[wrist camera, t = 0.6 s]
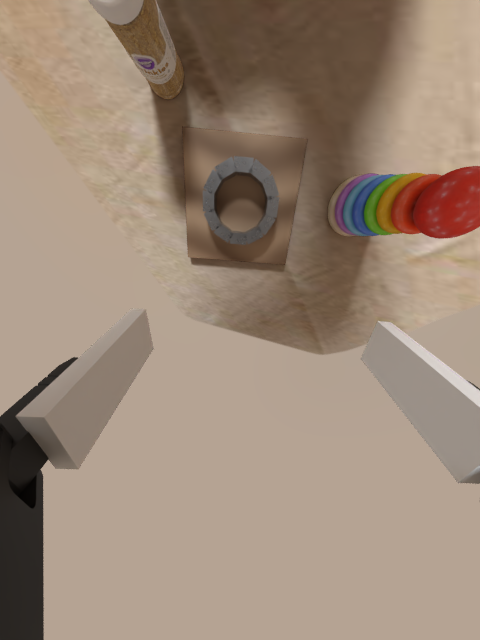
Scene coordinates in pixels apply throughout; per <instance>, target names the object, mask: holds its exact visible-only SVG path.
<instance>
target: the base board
mask: <svg viewBox="0 0 480 640" xmlns="http://www.w3.org/2000/svg"><path fill="white" fill-rule="evenodd" d="M182 134H183V156H184V179H185V201H186V223H187V246H188V257H193V258H206V259H218V260H231V261H244V262H257V263H270V264H282V265H285V263H286V257H287V251H288V246H289V240H290V235H291V229H292V224H293V218H294V212H295V207H296V201H297V196H298V190H299V185H300V179H301V173H302V168H303V162H304V157H305V151H306V145H307V140H308V139H303V138H292V137H282V136H272V135H262V134H252V133H242V132H232V131H222V130H211V129H201V128H191V127H182ZM234 156H240V157H250V158H254V161H255V159H257V160H258V161H259V162H260V163H261V164H262V165H263V166H265V167H266V168H267V169H268V170H269V171H270V172H271V174H270V175H269V176H271V175H273V177H274V180H275V183H276V186H277V189H278V192H279V195H278V196H276V197H280V198H279V204H278V211H277V218H274V217H273V218H274V219H275V222H274V223H273V225H272V226H271V228H270V229H269V230H268V232H267V233H266V235H264V234H263V237H262V238H260V239H258V240H256V241H254V242H252V243H250V244H248V243H247V242H246V245H241V244H230V240H229V242H228V243H227V242H226V241H225V240H223V239H222V238H220V237H219V236H218V235H216V234H215V233H214V231H215V230H213V231H212V230H211V228H210V226H209V224H208V222H207V220H206V218H205V216H204V213H206V212H204V211H203V190H204V191H207V190H205V189H204V186H205V184H206V182H207V180H208V178H209V176H210V174H211V172H212V170H213V169H214V170H215V166H217V165H219V164H220V163H222V162H224V161H225V160H227V159H228V158H230V157H232V158H233V161H234ZM254 161H253V163H254ZM215 171H216V170H215ZM264 208H265V197H264V194H263V192H262V189H261V186H260V185H259V184H258V183H257V182H255V181H254V180H253V179H252V178H251V177H249V176H238V175H236V176H234V177H232V178H230V179H229V180H227V181H225V182H224V183H223V185H222V187H221V189H220V190H219V192H218V194H217V212H218V215H219V217H220V219H221V221H222V223H223V224H224V225H226V226H227V227H228V228H230V229H231V230H233V231H242V232H245V231H247V230H249V229H251V228H253V227H255V226H256V225H257V224H258V222H259V221H260V219H261V218H262V216H263V215H264Z"/></svg>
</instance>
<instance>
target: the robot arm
mask: <svg viewBox="0 0 480 640" xmlns="http://www.w3.org/2000/svg"><path fill="white" fill-rule="evenodd" d="M152 350H153V344H152V339H151V334H150V328H149V323H148V318H147V313H146V309H133V308H132V309H131V310H130V311H129V312H128V313H127V314H125V315H124V316H123V317H122V318H121V319H120V320H119V321H118V322H117V323H116V324H115V325H114V326H113V327H111V328H110V329H109V330H108V331H107V332H106V333H105V334H104V335H103V336H102V337H101V338H99V339H98V340H97V341H96V342H95V343H94V344H93V345H92V346H91V347H90V348H89V349H88V350H87V351H85V352H84V353H83V354H82V355H81V356H80V357H79V358H75V357H74V358H72V359H70V360H68V361H66V362H64V363H63V364H61V365H59V366H58V367H57V368H56V369H55V370H53V371H52V372H51V373H50V374H49V375H48V377H45V378H44V379H43V380H42V381H41V382H39V383H38V386H35V387H34V388H33V389H31V390H30V391H29V392H28V393H27V394H26V395H24V396H23V397H22V398H21V399H20V400H19V401H18V402H16V403H15V404H14V405H13V406H12V407H11V408H9V409H8V410H7V411H6V412H5V413H4V414H3V415H1V417H0V640H43V475H42V472H41V470H40V469H41V468H42V467H43V465H44V464H45V463H46V461H47V460H48V459H49V461H50V462H51V463H52V465H53V466H54V467H55V468H57V469H79V468H80V466H81V464H82V463H83V461H84V459H85V458H86V456H87V454H88V453H89V452H90V450H91V448H92V447H93V445H94V444H95V442H96V440H97V439H98V437H99V435H100V434H101V432H102V431H103V429H104V427H105V426H106V424H107V423H108V421H109V419H110V418H111V416H112V415H113V413H114V411H115V410H116V408H117V406H118V405H119V403H120V402H121V400H122V398H123V397H124V395H125V394H126V392H127V390H128V389H129V387H130V386H131V384H132V382H133V381H134V379H135V377H136V376H137V374H138V373H139V371H140V370H141V368H142V366H143V365H144V363H145V362H146V360H147V358H148V357H149V355H150V354H151V352H152ZM361 360H362V361H363V362H364V364H365V365H366V366H367V367H368V368H369V370H370V371H371V373H372V374H373V375H374V376H375V378H376V379H377V380H378V382H379V383H380V384H381V385H382V387H383V388H384V389H385V390H386V392H387V393H388V394H389V396H390V397H391V398H392V399H393V401H394V402H395V403H396V404H397V406H398V407H399V408H400V410H401V411H402V412H403V413H404V415H405V416H406V417H407V419H408V420H409V421H410V422H411V424H412V425H413V426H414V427H415V429H416V430H417V431H418V433H419V434H420V435H421V436H422V438H423V439H424V440H425V441H426V443H427V444H428V445H429V447H431V449H432V450H433V452H434V453H435V454H436V455H437V457H438V458H439V459H440V461H441V462H442V463H443V464H444V466H445V467H446V468H447V469H448V471H449V472H450V473H451V475H452V476H453V477H454V478H455V480H456V481H457V482H458V483H477V484H479V483H480V389H479V388H478V387H476V386H475V385H474V384H472V383H471V382H469V381H467V380H465V379H464V378H463V377H461V376H460V375H459V374H457V373H456V372H455V371H453V370H452V369H451V368H450V367H448V366H447V365H446V364H444V363H443V362H442V361H441V360H439V359H438V358H437V357H435V356H434V355H433V354H431V353H430V352H429V351H427V350H426V349H425V348H424V347H422V346H421V345H420V344H419V343H417V342H416V341H415V340H413V339H412V338H411V337H409V336H408V335H407V334H406V333H404V332H403V331H402V330H400V329H399V328H398V327H396V326H395V325H394V324H393V323H391V322H383V321H377V323H376V325H375V328H374V330H373V332H372V334H371V337H370V339H369V341H368V343H367V346H366V348H365V350H364V352H363V355H362V357H361Z"/></svg>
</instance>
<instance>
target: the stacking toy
mask: <svg viewBox="0 0 480 640" xmlns="http://www.w3.org/2000/svg"><path fill="white" fill-rule="evenodd" d="M328 220H329V223H330V225H331V227H332V228H333V230H334V231H335V232H337V233H338V234H340V235H343V236H356V235H359V236H376V235H390V234H399V233H406V234H418V233H421V232H422V233H423V234H425V235H427V236H430V237H434V238H453V237H457V236H460V235H463V234H466V233H468V232H471V231H473V230H474V229H476V228H478V227H479V226H480V166H472V167H464V168H460V169H456V170H454V171H451V172H449V173H447V174H445V175H443V176H441V175H437V174H429V175H426V174H422V173H411V174H400V175H391V174H389V175H378V174H364V175H357V176H353V177H351V178H349V179H347V180H346V181H344V182H343V183H342V184H341V185H340V186H339V187H338V188H337V189H336V191H335V192H334V194H333V195H332V197H331V200H330V202H329V206H328Z"/></svg>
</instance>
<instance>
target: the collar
mask: <svg viewBox="0 0 480 640" xmlns="http://www.w3.org/2000/svg"><path fill="white" fill-rule="evenodd" d="M253 161H254V158H250V157H240V156H234V161H233V158H232V157H230V158H228V159H227V160H225V161H224V162H222V163H220V164H219V165H217V166H215V170H216V171H215V170H214V169H213V170H212V172H211V174H210V176H209V178H208V180H207V182H206V184H205V186H204V189H205V190H207V191H204V190H203V211H204V212H206V213H204V216H205V218H206V220H207V222H208V224H209V226H210V228H211V230H212V231H213V230H215V231H214V233H215V234H216V235H218V236H219V237H220V238H222V239H223V240H225V241H226V242H227V243H228V242H229V240H230V244H241V245H246V242H247V243H248V244H250V243H252V242H254V241H256V240H258V239H260V238H262V237H263V234H264V235H266V233H267V232H268V230H269V229H270V228H271V226H272V225H273V223H274V222H275V219H274V218H277V211H278V204H279V198H280V197H276V196H278V195H279V192H278V189H277V186H276V183H275V180H274V177H273V175H271V176H269V175H270V174H271V172H270V171H269V170H268V169H267V168H266V167H265V166H263V165H262V164H261V163H260V162H259V161H258V160H257V159H255V161H254V163H253ZM236 175H238V176H249V177H251V178H252V179H253V180H254V181H255V182H257V183H258V184H259V185H260V186H261V189H262V192H263V194H264V197H265V208H264V215H263V216H262V218H261V219H260V221H259V222H258V224H257V225H256V226H255V227H253V228H251V229H249V230H247V231H245V232H242V231H233V230H231V229H230V228H228V227H227V226H226V225H224V224H223V223H222V221H221V219H220V217H219V215H218V212H217V194H218V192H219V190H220V189H221V187H222V185H223V183H224V182H225V181H227V180H229V179H230V178H232V177H234V176H236ZM273 217H274V218H273Z"/></svg>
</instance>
